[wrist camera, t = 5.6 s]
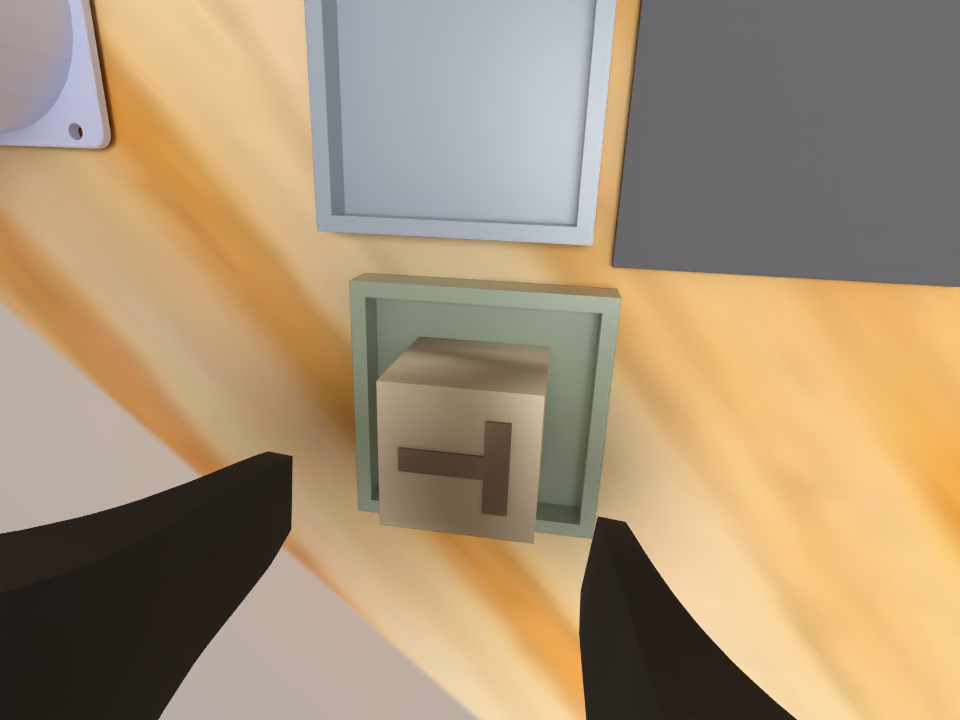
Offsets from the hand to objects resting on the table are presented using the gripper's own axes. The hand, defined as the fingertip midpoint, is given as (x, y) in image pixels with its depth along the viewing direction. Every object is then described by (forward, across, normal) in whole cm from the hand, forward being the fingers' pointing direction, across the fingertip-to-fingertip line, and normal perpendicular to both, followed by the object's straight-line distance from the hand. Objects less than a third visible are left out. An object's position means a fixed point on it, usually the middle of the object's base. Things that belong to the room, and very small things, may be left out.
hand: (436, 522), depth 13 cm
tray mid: (+8, +2, -10) cm, 13 cm away
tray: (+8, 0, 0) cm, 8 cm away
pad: (+8, -8, -11) cm, 15 cm away
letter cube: (+7, 0, 0) cm, 7 cm away
